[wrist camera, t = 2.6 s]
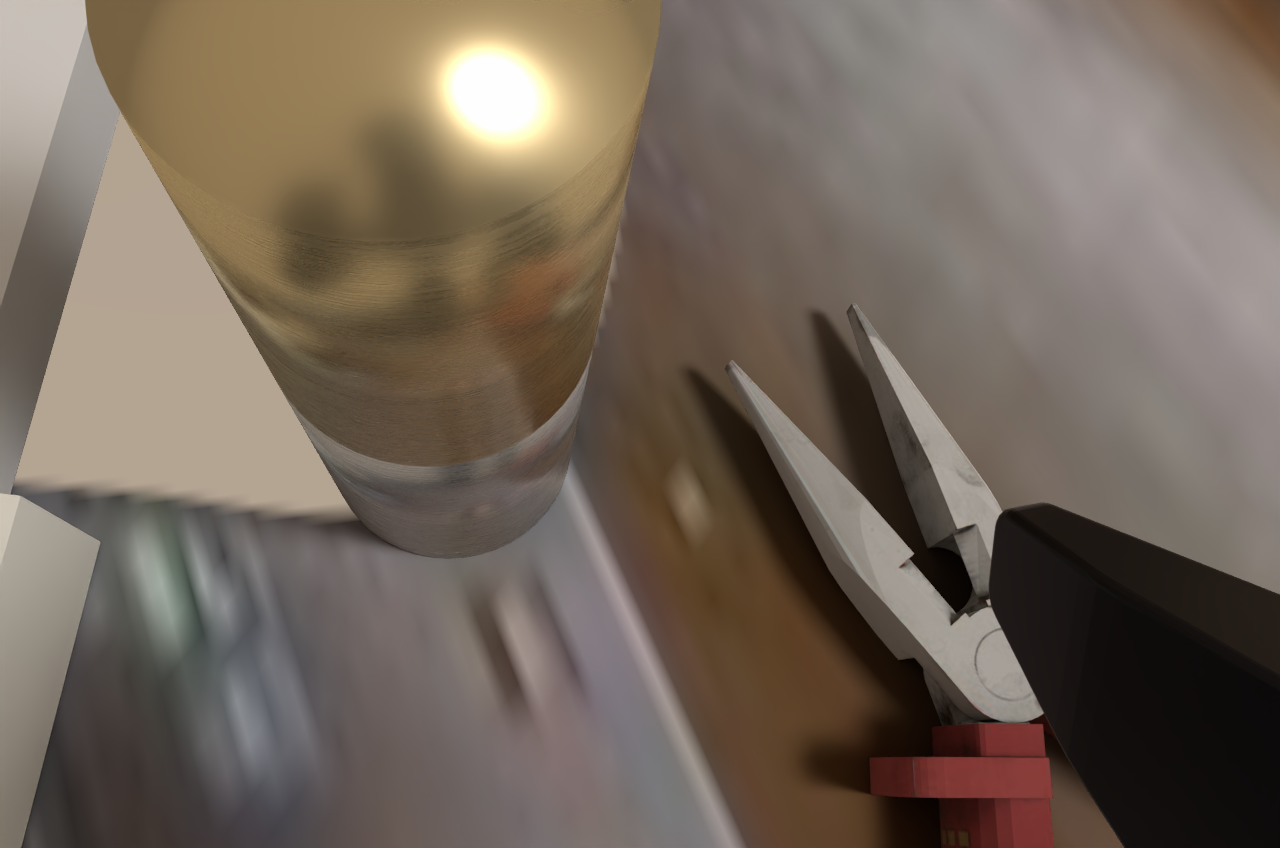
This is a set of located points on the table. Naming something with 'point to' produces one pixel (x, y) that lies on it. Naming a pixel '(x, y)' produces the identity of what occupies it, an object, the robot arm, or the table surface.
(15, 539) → the socket
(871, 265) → the table surface
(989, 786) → the pliers
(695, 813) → the table surface
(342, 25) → the coupler
